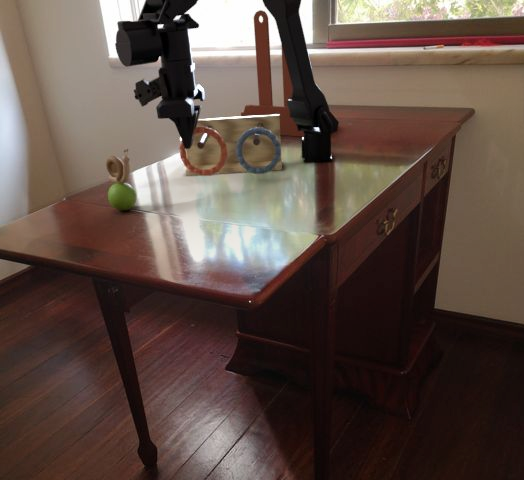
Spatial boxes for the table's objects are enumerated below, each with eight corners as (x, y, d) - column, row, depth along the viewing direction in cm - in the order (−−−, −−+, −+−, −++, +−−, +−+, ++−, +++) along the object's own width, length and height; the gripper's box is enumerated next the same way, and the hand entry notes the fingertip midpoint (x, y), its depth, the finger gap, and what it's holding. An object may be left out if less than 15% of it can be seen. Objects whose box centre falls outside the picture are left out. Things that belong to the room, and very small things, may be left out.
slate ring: (281, 171, 120) (279, 125, 115) (281, 173, 119) (279, 127, 114) (238, 173, 121) (234, 128, 116) (238, 175, 120) (234, 129, 115)
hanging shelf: (337, 126, 159) (338, 4, 142) (316, 137, 150) (314, 7, 134) (266, 122, 171) (259, 8, 154) (242, 132, 162) (232, 12, 145)
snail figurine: (129, 216, 107) (116, 152, 100) (105, 212, 110) (91, 150, 103) (148, 207, 110) (136, 145, 104) (124, 203, 114) (112, 143, 107)
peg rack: (281, 162, 131) (279, 113, 125) (280, 184, 117) (278, 130, 111) (190, 168, 133) (183, 119, 127) (178, 190, 119) (170, 136, 113)
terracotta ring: (229, 173, 113) (224, 124, 108) (228, 175, 112) (224, 126, 107) (184, 176, 113) (177, 127, 108) (183, 177, 112) (175, 129, 107)
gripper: (144, 56, 109) (158, 139, 118) (120, 69, 94) (137, 162, 103) (200, 52, 109) (209, 135, 117) (184, 64, 93) (197, 159, 102)
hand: (188, 147), depth 110 cm, fingers closed on terracotta ring, 1 cm apart
